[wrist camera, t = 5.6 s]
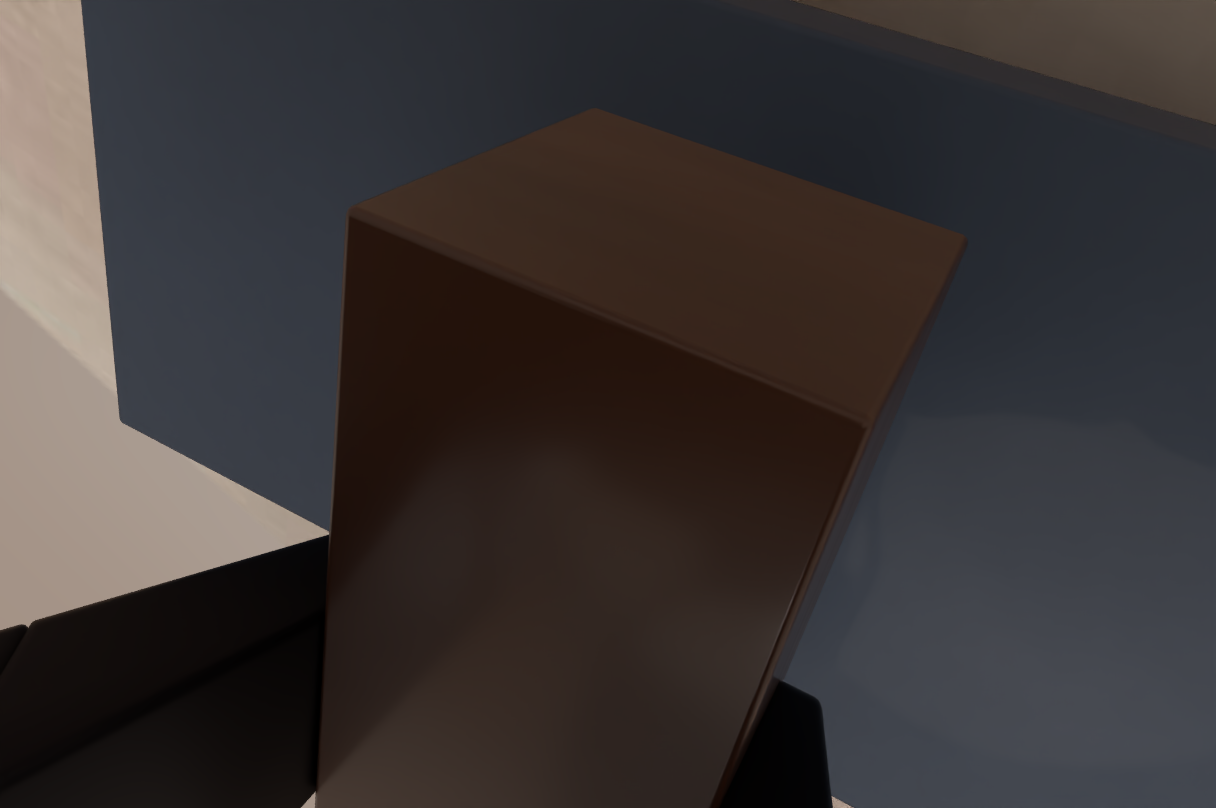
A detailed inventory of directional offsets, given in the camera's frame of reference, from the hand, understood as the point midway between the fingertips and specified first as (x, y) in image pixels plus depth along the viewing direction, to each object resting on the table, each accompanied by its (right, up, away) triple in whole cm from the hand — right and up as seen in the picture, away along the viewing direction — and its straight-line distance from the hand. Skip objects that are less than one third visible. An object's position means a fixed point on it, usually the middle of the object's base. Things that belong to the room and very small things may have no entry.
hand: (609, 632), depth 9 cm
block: (0, 0, +1) cm, 1 cm away
